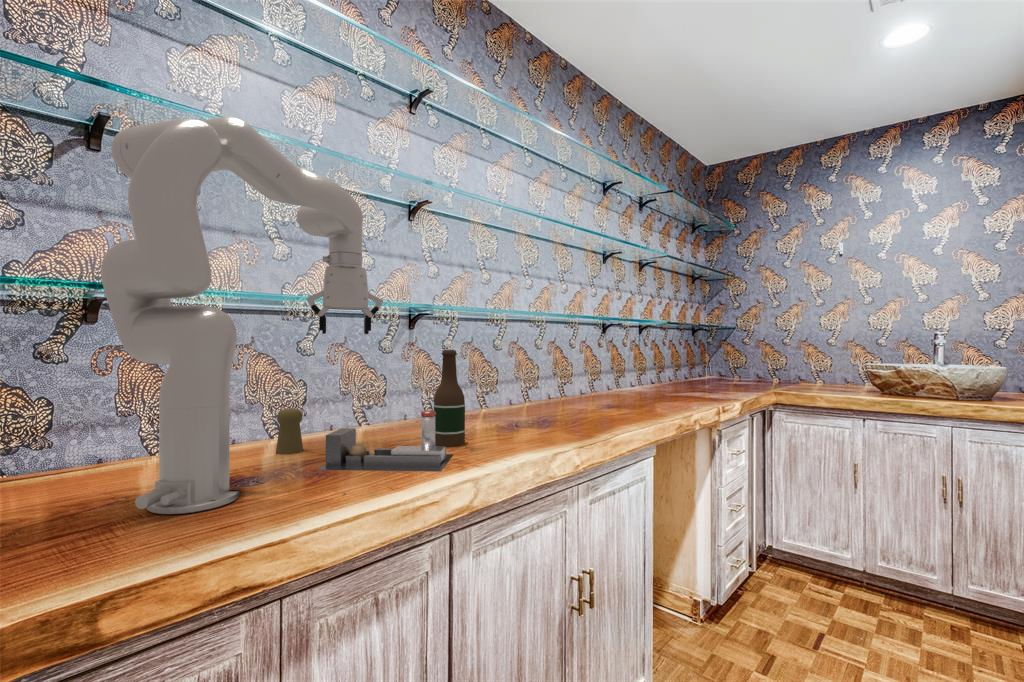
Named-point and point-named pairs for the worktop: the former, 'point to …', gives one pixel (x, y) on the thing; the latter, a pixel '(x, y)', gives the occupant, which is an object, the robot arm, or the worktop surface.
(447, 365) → the beer bottle
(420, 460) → the nutcracker base
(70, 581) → the worktop surface
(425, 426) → the grey and clear stand
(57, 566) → the worktop surface
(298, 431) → the cork
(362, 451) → the walnut
